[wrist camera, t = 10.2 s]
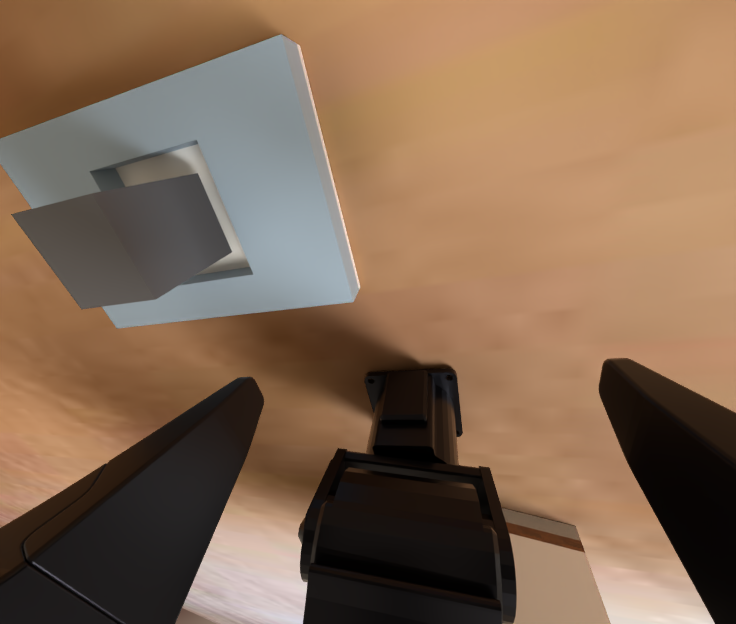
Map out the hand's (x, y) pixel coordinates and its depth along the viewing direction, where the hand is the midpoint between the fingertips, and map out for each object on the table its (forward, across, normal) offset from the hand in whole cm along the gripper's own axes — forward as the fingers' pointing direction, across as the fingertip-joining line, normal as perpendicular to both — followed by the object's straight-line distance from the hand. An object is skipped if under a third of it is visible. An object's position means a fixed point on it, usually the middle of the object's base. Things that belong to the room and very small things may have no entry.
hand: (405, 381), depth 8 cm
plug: (+11, +13, -4) cm, 17 cm away
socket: (+11, +13, -4) cm, 17 cm away
